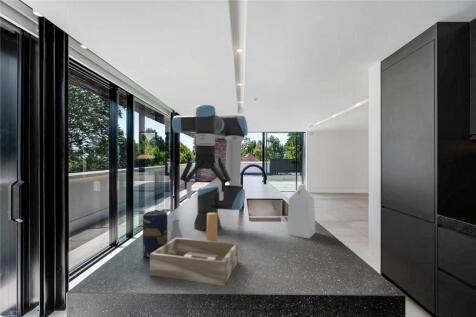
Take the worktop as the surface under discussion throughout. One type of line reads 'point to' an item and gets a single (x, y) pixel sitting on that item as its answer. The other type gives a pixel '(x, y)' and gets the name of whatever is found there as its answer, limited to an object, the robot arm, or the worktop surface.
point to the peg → (211, 226)
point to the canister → (154, 231)
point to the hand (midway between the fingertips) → (204, 199)
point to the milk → (301, 214)
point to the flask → (174, 230)
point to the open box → (195, 260)
